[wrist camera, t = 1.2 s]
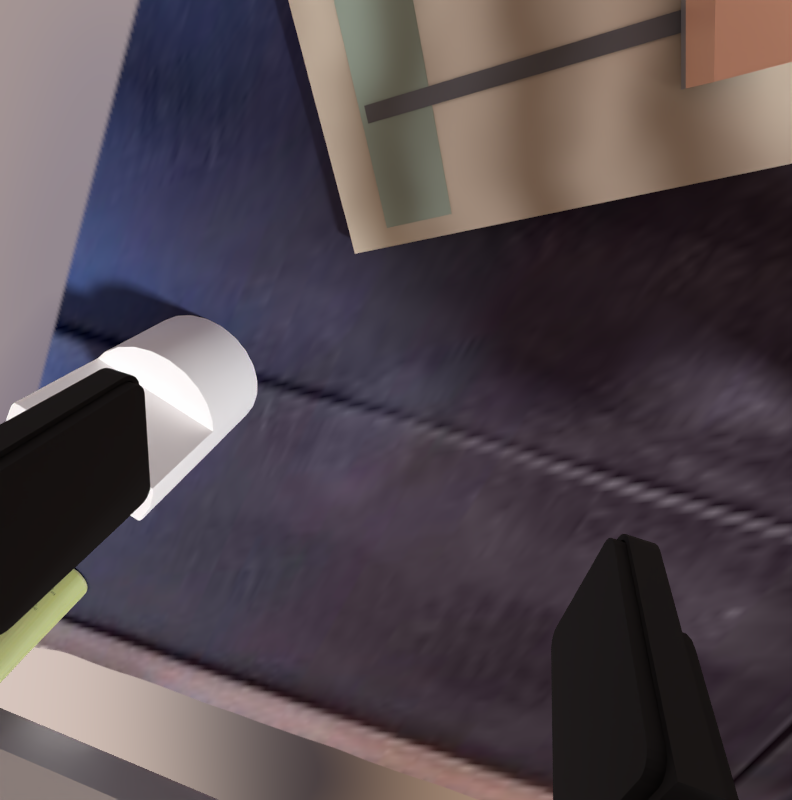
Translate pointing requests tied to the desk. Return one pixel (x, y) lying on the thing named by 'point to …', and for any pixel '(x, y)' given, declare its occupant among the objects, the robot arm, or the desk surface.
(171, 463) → the cylinder with rectangular tab
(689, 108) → the fader board
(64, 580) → the tube
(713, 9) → the fader tab
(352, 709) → the desk surface
